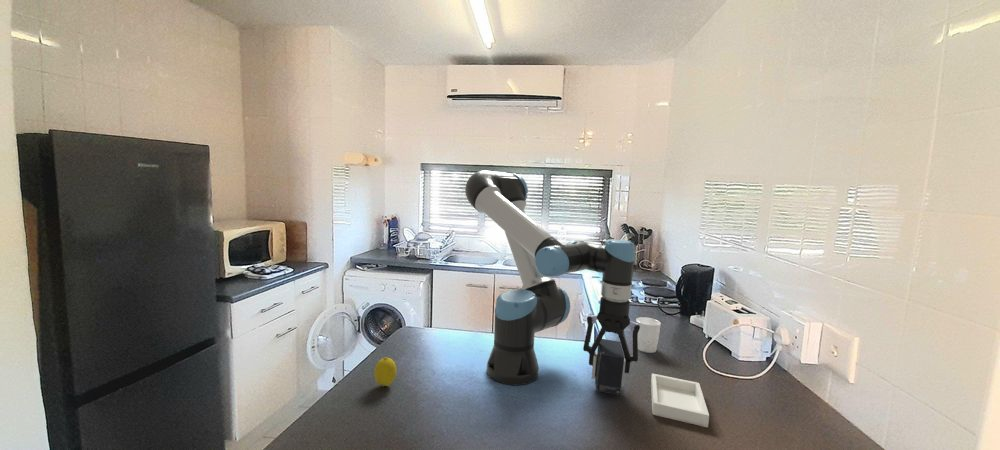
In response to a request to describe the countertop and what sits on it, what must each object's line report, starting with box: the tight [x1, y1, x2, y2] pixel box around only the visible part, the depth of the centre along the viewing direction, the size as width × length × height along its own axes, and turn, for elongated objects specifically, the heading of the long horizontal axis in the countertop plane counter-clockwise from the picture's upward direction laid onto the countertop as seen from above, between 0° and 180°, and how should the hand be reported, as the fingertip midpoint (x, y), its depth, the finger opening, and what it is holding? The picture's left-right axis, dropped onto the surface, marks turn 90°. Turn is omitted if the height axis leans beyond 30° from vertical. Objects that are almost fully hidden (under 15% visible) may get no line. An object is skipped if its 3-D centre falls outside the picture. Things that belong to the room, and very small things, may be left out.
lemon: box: [374, 356, 397, 387], centre depth 97 cm, size 6×6×8 cm
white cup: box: [635, 316, 661, 354], centre depth 129 cm, size 8×8×10 cm
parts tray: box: [650, 373, 710, 428], centre depth 96 cm, size 12×16×3 cm
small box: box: [594, 338, 625, 396], centre depth 101 cm, size 11×6×10 cm, turn 168°
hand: (607, 379), depth 101 cm, fingers closed on small box, 7 cm apart
